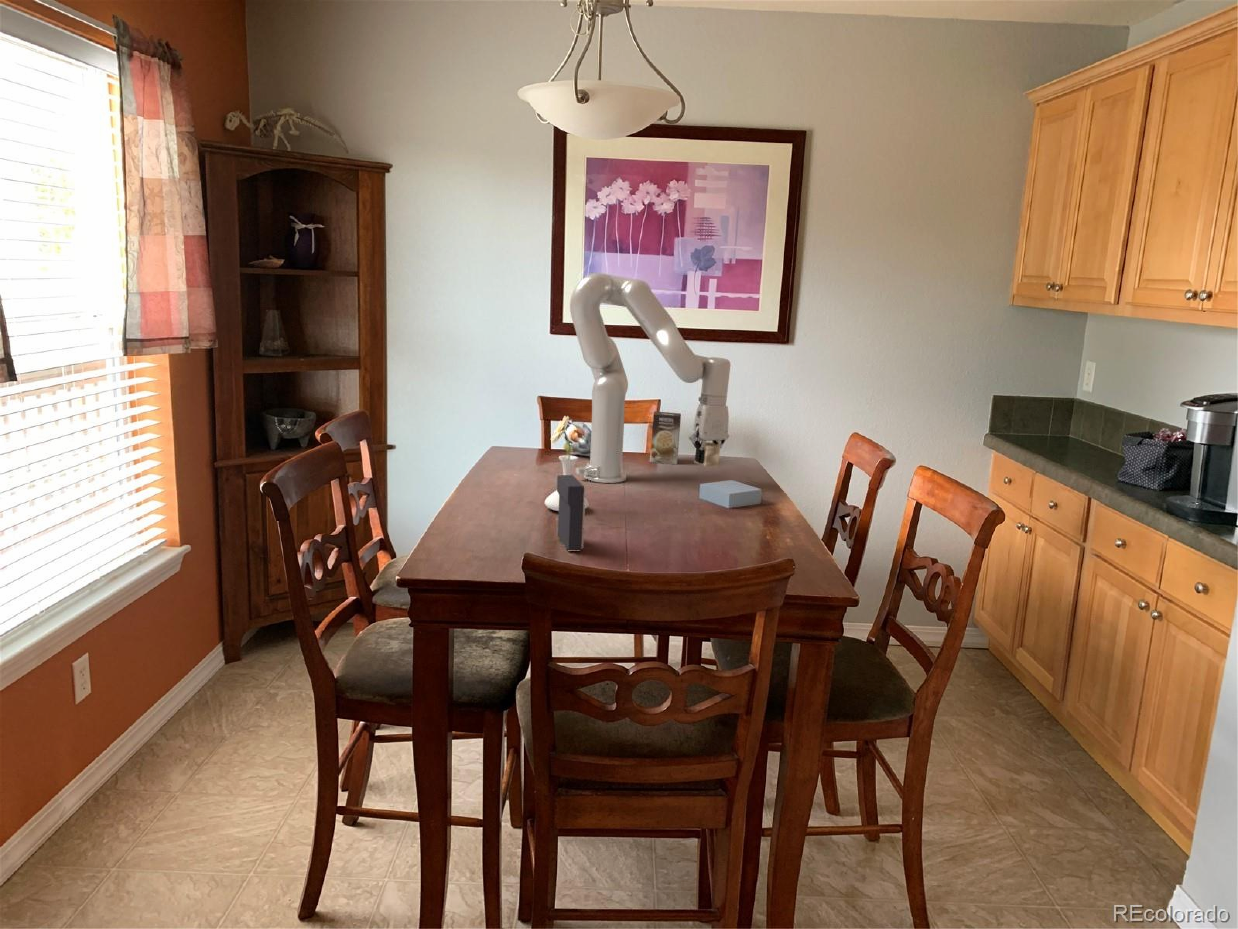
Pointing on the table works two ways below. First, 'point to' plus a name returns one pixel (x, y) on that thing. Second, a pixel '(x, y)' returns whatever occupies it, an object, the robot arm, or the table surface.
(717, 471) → the table surface
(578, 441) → the lucky cat figurine
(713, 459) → the birch block
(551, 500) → the flower in vase
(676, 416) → the coffee box
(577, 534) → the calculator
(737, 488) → the base block
